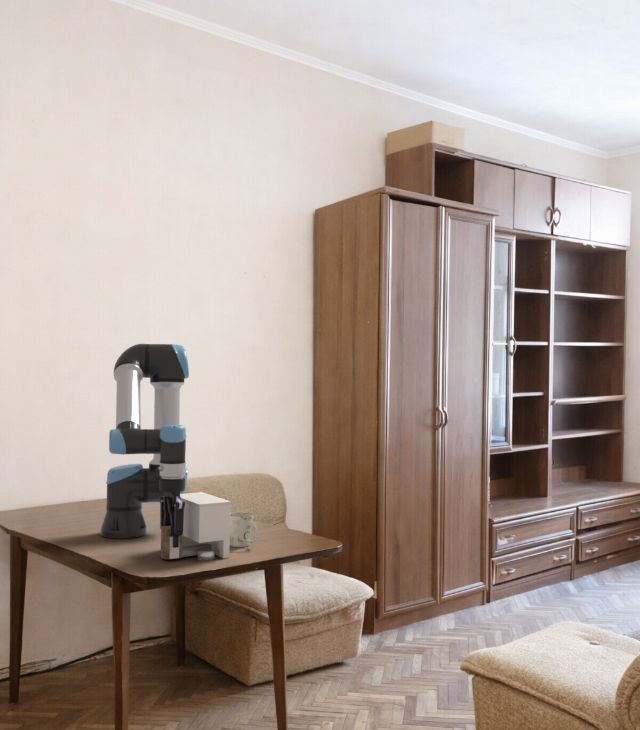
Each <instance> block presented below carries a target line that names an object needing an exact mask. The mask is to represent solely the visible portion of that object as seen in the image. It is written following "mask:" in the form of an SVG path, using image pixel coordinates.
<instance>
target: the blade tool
mask: <svg viewBox="0 0 640 730" xmlns="http://www.w3.org/2000/svg"><path fill="white" fill-rule="evenodd" d="M169 535H171V525H170V526H161V529H160V558H161V559H164V560H166V561H167V560H171V559H170V558H169V552H170V537H169ZM200 549H212V545H210V544H201V545H193V546H185V547H182V535H180V536H179V558H178V559H182V558H184V557H193V556H198V550H200ZM174 559H177V558H174ZM174 559H173V560H174Z"/></svg>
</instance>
